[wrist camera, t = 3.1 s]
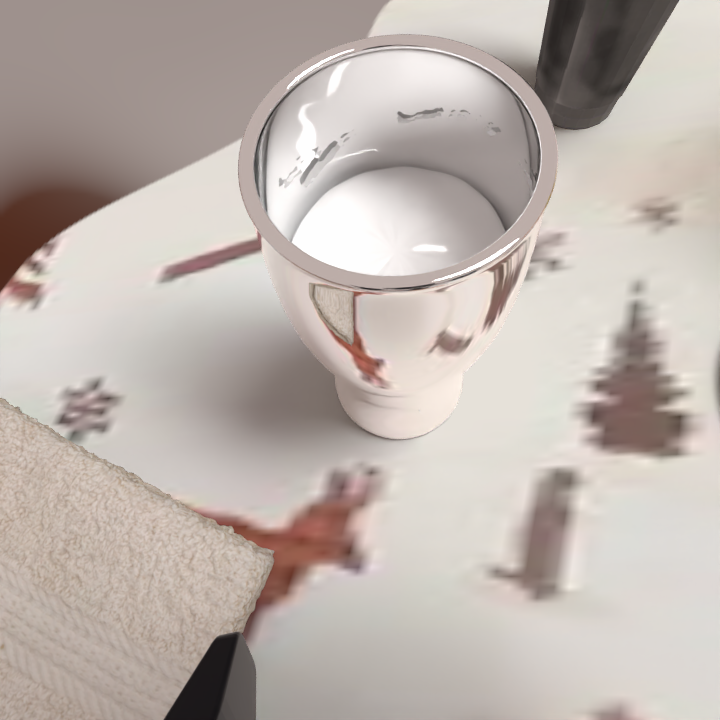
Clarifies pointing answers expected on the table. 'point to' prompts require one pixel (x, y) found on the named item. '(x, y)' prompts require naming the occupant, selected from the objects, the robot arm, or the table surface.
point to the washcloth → (106, 583)
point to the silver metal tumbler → (398, 214)
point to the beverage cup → (594, 55)
